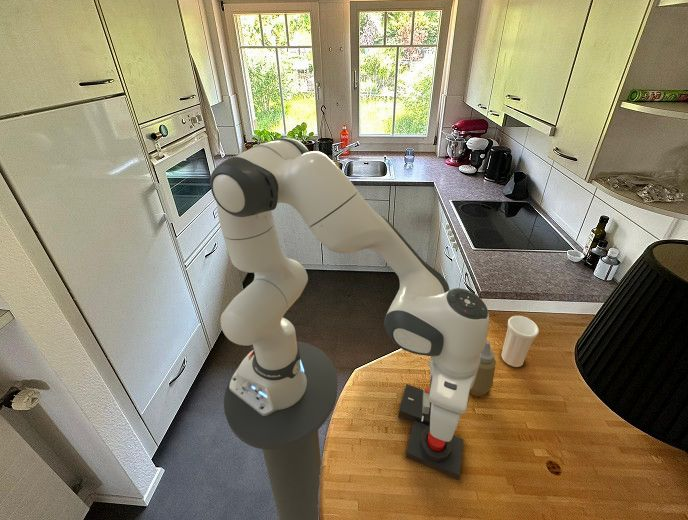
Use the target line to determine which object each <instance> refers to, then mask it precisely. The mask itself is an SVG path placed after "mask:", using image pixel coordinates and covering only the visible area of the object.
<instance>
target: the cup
mask: <svg viewBox="0 0 688 520" xmlns="http://www.w3.org/2000/svg"><path fill="white" fill-rule="evenodd" d="M539 330H540V329H539V327H538V324H536V323H535V322H534V321H533V320H532V319H531V318H529V317H526V316H523V315H513V316H510V317H509V318H508V320H507V330H506V334H505V337H504V343H503V346H502V350H501V355H500V357H501V358H502V360H503V362H504V363H505V364H507V365H509V366H510V367H513V368H518V367H522V366H523V365H524V362H525V360H526V358H527V355H528V353H529V350H530V348H531V346H532V344H533V342H534V340H535V339H536V337H538V335H539V333H540V331H539Z"/></svg>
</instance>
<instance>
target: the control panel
mask: <svg viewBox="0 0 688 520" xmlns="http://www.w3.org/2000/svg"><path fill="white" fill-rule="evenodd" d="M423 391H424V388H419V387H417V386H414V385H411V384H408V383H406V384H405V387H404V391H403V395H402V399H401V402H400V406H399V410H398V418H399V419H402V420H405V421H407V422H410V423H412V424H413V421H414V420H415V421H418V422H420V423H423V424H425V425H428V426H430V414H431V402H430V409H429V414H423V413H422V409H423Z"/></svg>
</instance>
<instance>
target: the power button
mask: <svg viewBox="0 0 688 520" xmlns="http://www.w3.org/2000/svg"><path fill="white" fill-rule="evenodd" d="M427 442H428V445H429V447H430V448H431V449H432V450H434V451H436V452H440V451H442V450H443V449H444V447H445V443H446V441H442V440H440V439H437V438H435V437H433V436H432V435H431V433H430V432H429V434H428V439H427Z"/></svg>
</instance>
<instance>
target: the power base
mask: <svg viewBox="0 0 688 520" xmlns="http://www.w3.org/2000/svg"><path fill="white" fill-rule="evenodd" d="M429 432H430V426H428V425H425V424H423V423H420V422H418V421H415V420H414V421H413V423H412V426H411V430H410V435H409V439H408V444H407V448H406V452H405V458H406V459H408V460H411V461H413V462H415V463H418V464H420V465H423V466H424V467H426V468H429V469H431V470H434V471H436V472H439V473H441V474H444V475H446V476H447V477H449V478H452V479H454V480H457V481H459V480H460V476H461V469H462V460H463V459H462V457H463V450H464V449H463V448H464V438H461V437H459V436H456V435H455V434H454V435H453V438H452V440H451V441H450V442H446V443H445V447H444V449H443V450H442V451H440V452H436V451H434V450H432V449H431V448H430V447H429V445H428V442H427V439H428V434H429Z"/></svg>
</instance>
